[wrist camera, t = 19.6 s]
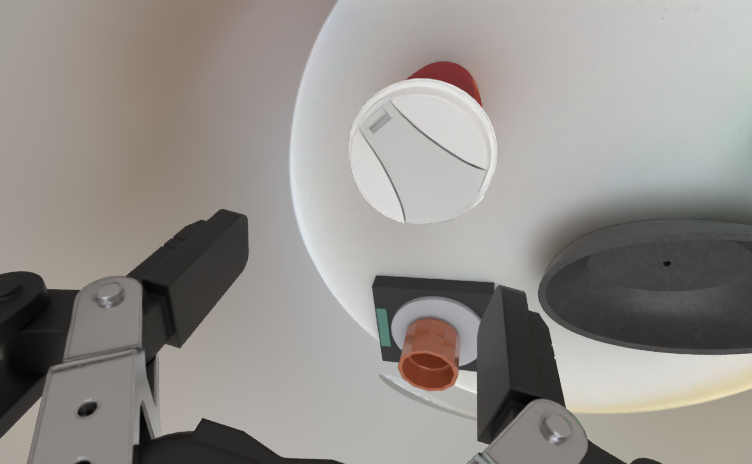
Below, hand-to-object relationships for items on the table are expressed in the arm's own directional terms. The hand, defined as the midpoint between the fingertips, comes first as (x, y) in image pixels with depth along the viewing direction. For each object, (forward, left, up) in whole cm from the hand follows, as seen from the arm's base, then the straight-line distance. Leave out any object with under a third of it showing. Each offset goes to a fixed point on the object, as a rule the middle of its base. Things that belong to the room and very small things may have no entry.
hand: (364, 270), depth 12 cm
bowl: (+23, -10, -25) cm, 35 cm away
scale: (+6, -25, -25) cm, 36 cm away
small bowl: (+6, -25, -22) cm, 34 cm away
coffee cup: (0, 0, -25) cm, 25 cm away
